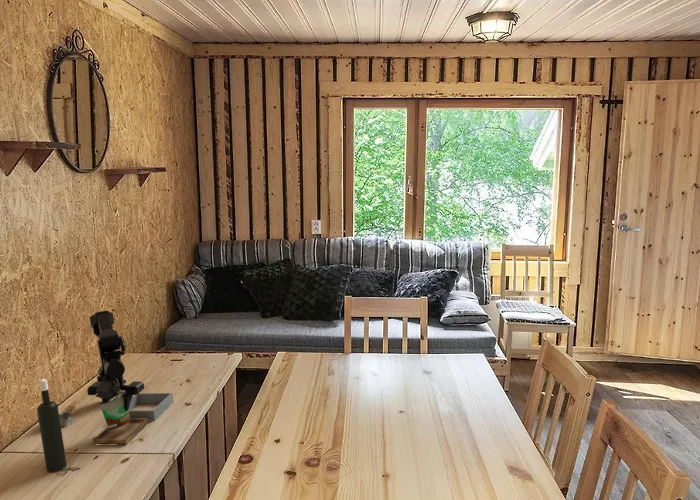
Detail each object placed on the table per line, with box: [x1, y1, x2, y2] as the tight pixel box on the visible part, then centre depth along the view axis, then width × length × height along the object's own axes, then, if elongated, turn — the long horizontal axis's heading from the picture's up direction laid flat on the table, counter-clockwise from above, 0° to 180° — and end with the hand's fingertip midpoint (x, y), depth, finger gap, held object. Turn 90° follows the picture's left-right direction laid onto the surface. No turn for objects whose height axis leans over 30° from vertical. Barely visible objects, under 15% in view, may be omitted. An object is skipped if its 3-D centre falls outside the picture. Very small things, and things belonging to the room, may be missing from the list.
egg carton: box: [59, 409, 73, 428], centre depth 211 cm, size 11×8×4 cm
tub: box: [129, 392, 174, 422], centre depth 218 cm, size 15×16×4 cm
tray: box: [92, 418, 150, 446], centre depth 201 cm, size 12×16×2 cm
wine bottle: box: [36, 378, 67, 473], centre depth 178 cm, size 6×6×30 cm
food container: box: [99, 391, 130, 430], centre depth 200 cm, size 12×6×10 cm, turn 173°
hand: (119, 410), depth 200 cm, fingers closed on food container, 6 cm apart
